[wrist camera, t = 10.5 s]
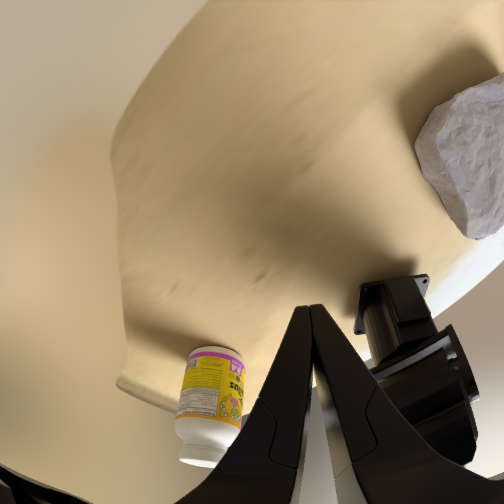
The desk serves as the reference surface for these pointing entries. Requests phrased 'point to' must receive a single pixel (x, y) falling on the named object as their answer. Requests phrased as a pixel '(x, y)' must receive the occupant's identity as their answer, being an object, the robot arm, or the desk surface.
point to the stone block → (468, 157)
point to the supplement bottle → (210, 405)
